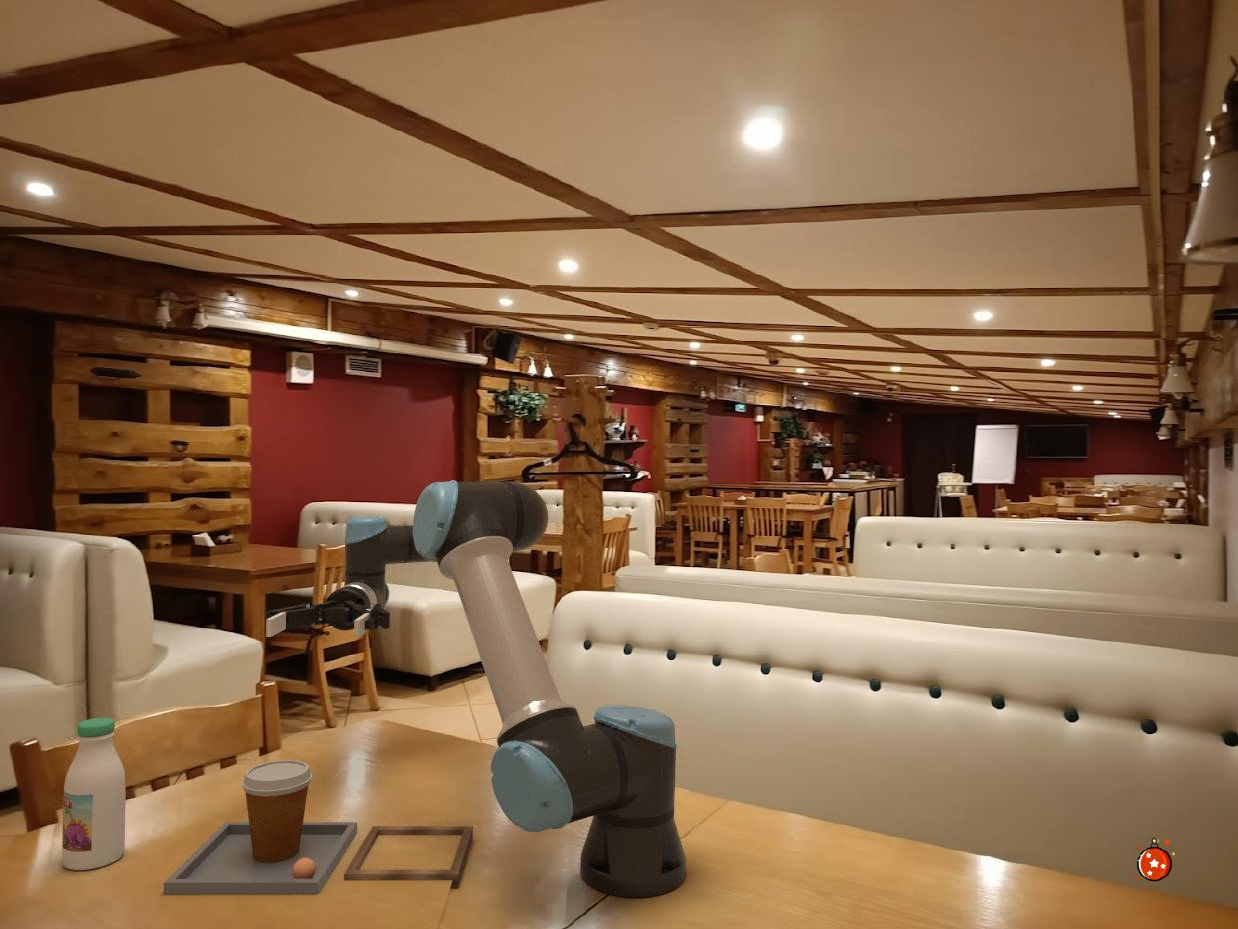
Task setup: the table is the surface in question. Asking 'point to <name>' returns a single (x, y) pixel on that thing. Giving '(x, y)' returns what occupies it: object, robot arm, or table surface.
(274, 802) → the disposable coffee cup
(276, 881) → the tray
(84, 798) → the milk bottle
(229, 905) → the table surface
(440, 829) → the frame
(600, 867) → the robot arm
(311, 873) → the ball
